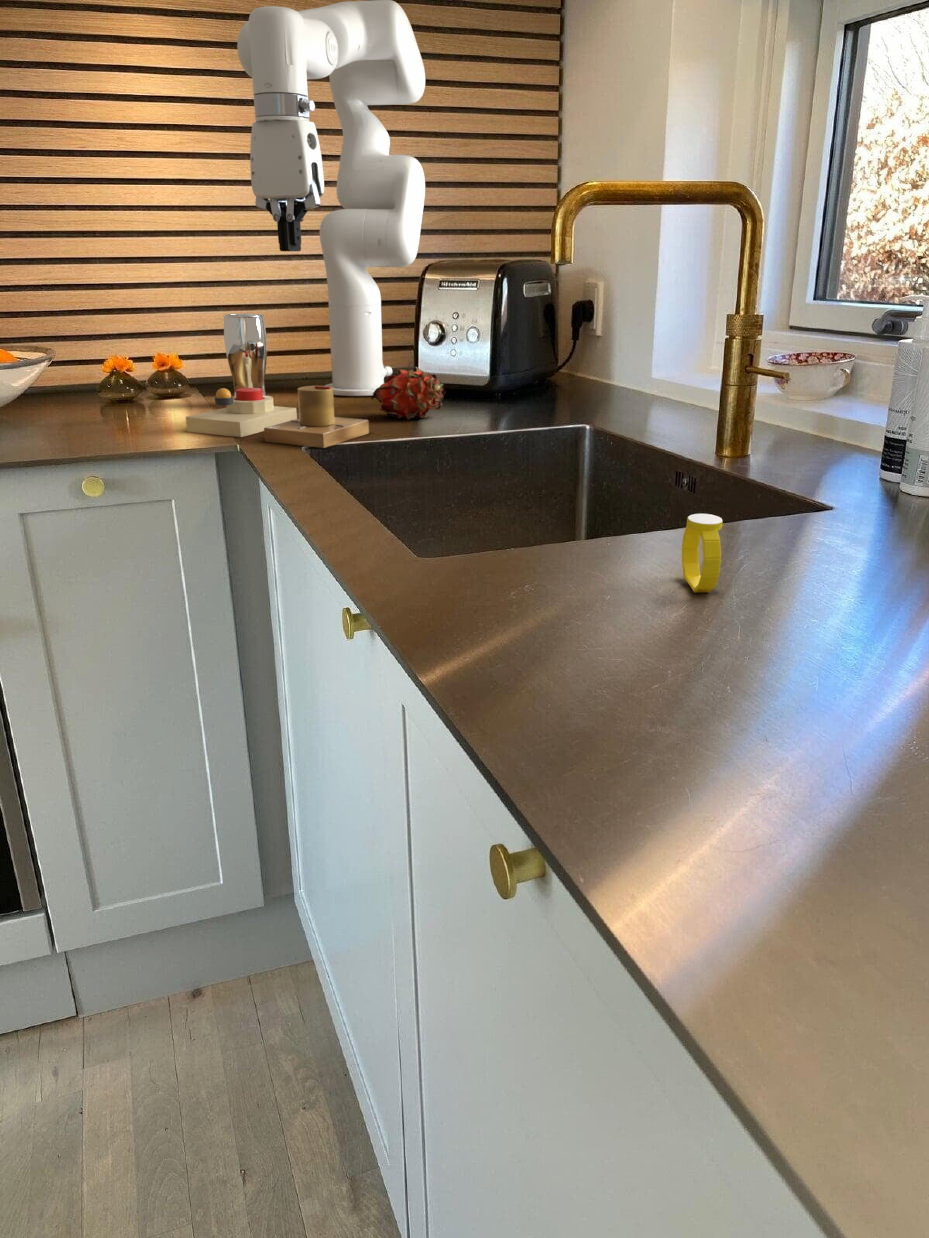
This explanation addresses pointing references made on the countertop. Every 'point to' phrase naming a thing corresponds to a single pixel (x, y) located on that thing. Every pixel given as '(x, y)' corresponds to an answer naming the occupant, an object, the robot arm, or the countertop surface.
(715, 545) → the watch
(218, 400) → the lamp
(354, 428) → the dimmer panel
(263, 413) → the switch block
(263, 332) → the beer glass
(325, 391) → the dimmer knob
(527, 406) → the countertop surface
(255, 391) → the light button
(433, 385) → the dragon fruit
